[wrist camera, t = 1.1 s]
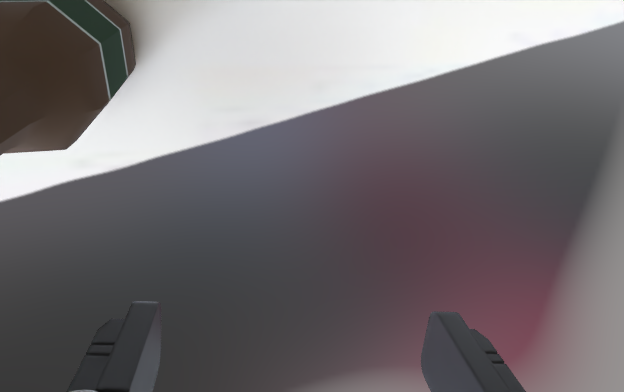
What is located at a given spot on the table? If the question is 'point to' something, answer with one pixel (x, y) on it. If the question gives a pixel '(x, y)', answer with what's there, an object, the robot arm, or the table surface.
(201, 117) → the table surface
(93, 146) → the table surface
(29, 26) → the beer bottle
